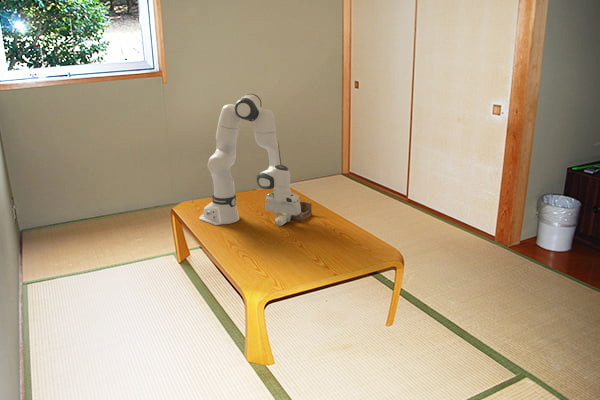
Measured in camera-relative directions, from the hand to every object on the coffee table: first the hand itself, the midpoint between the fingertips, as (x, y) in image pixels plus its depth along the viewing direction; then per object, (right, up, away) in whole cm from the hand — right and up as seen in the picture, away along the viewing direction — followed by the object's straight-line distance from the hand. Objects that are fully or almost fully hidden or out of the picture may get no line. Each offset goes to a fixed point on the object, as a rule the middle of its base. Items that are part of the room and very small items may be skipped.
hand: (283, 220), depth 284 cm
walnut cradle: (+8, +1, +9) cm, 12 cm away
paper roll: (0, -2, +1) cm, 2 cm away
